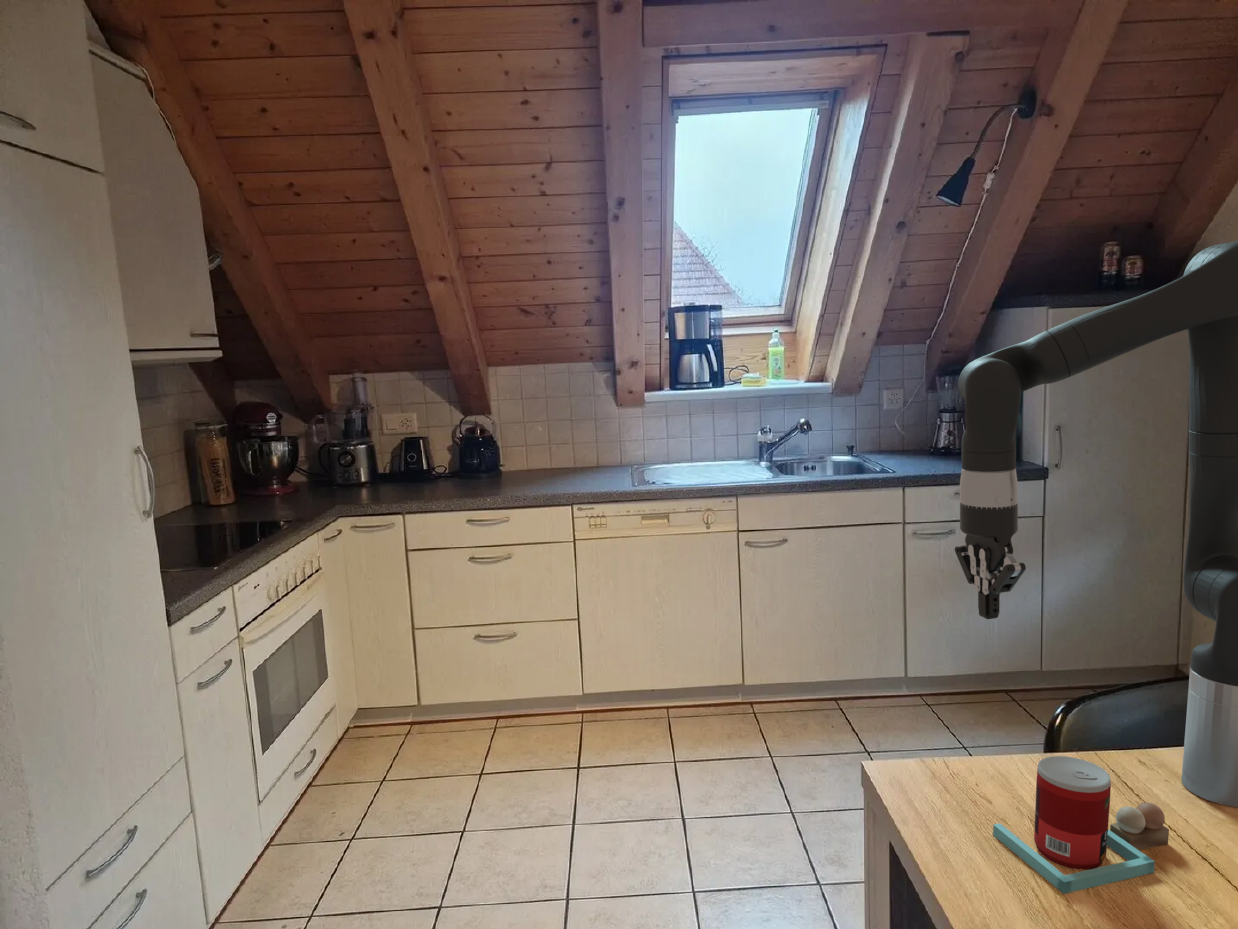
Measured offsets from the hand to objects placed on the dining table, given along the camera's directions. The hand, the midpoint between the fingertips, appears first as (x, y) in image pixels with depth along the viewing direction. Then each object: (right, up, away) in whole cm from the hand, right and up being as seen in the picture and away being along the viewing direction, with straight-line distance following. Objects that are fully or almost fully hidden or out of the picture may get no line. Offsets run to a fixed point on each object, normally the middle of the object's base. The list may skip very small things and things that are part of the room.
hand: (988, 617), depth 119 cm
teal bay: (+3, -27, -16) cm, 31 cm away
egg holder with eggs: (+13, -26, -14) cm, 32 cm away
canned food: (+3, -27, -16) cm, 31 cm away
